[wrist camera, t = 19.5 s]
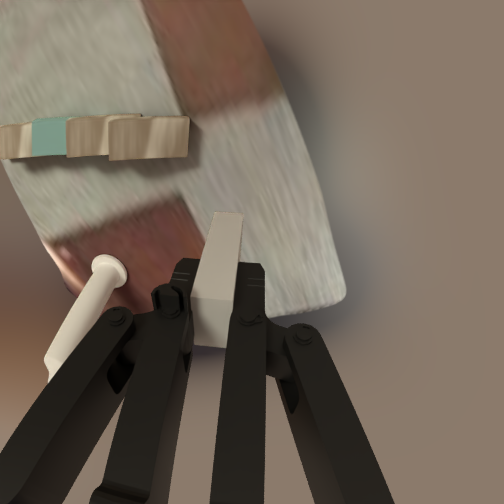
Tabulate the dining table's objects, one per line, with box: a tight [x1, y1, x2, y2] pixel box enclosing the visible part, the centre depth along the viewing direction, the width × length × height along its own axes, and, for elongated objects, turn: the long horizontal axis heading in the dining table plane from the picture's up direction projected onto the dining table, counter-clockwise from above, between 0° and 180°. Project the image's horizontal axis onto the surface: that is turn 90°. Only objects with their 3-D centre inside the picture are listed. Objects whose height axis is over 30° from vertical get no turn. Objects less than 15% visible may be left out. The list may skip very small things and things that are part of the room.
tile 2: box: [66, 114, 141, 158], centre depth 34 cm, size 2×5×10 cm
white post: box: [44, 254, 127, 383], centre depth 39 cm, size 7×7×25 cm
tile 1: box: [108, 116, 190, 161], centre depth 34 cm, size 2×5×10 cm
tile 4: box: [0, 122, 48, 159], centre depth 32 cm, size 2×5×10 cm
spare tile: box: [32, 116, 85, 156], centre depth 33 cm, size 2×5×10 cm
